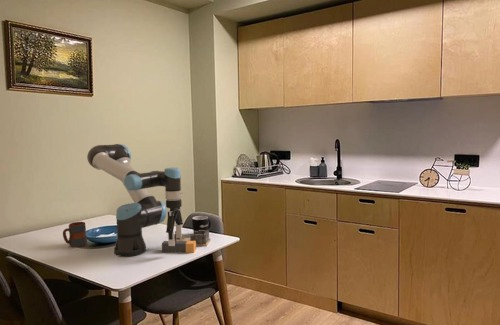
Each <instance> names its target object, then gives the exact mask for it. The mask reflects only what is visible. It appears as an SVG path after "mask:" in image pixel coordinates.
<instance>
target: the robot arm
mask: <svg viewBox="0 0 500 325" xmlns="http://www.w3.org/2000/svg"><path fill="white" fill-rule="evenodd" d="M131 153H132V152H131V151H130V149H129V147H128V146H126V145H125V144H121V143H115V144H114V143H113V144H97V145H95V146H92V148H90V150H89V151H88V152H87V156H86V159H87V163H88V164H89V165H90V166H91V167H92V168H93V169H96V170H100V171H101V170H102V171H104V172H105V173H107V174H109V175H111V176H112V177H114V178H115V179H117V180H119V181H121V183H122V185H123V186H124V188H125V189H126V191H127V192H128V194H129V196H130V197H131V199H132V201H133V202H131V203H126V204H122V205H120V206H118V208H117V209H116V214H115V219H116V233H117V237H116V238H117V239H116V241H115V245H114V248H113V250H114V251H113V252H114V253H113V254H114V255H115V256H118V257H134V256H138V255H141V254H144V253H145V252H146V251H147V244H146V242H145V240H144V237H143V229H144V228H147V227H150V226H155V225H158V224H161V223H163V222H164V221H165V220H166V217H167V221H166V230H165V233H166V234H167V237H168V238H167V239H168V240H167V241H168V243H169V246H175V243H174V234H175V231H176V238H182V236H183V234H182V232H183V231H182V226H183V224H184V222H183V217H182V213H181V212H182V211H181V207H182V199H181V198H182V194H183V192H181V191H182V186H181V185H182V184H181V180H182V179H181V177H182V176H181V169H180V168H179V167H166V168H164V171H161V170H151V171H149V172H141V173H140V172H138V171H136V170H134V168H133V166H132V165H131V160H132V155H131ZM157 187H165V188H164V190H165V191H164V192H165V194H164V195H165V199H166V200H165V203H164V202H163V201H161V200H157V199H156V197H155V196H154V195H151V194H150V193H149V192H148V190H147V189H149V188H150V189H151V188H157ZM167 209H169V211H168V210H167ZM174 228H175V230H174Z"/></svg>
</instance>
